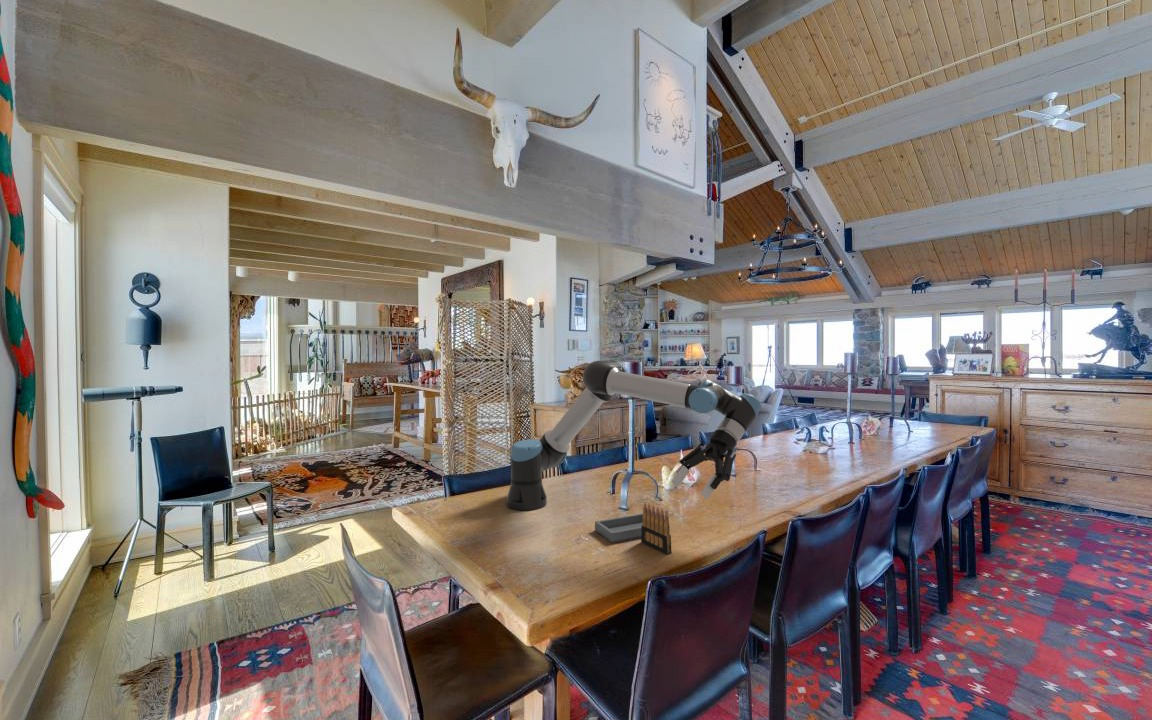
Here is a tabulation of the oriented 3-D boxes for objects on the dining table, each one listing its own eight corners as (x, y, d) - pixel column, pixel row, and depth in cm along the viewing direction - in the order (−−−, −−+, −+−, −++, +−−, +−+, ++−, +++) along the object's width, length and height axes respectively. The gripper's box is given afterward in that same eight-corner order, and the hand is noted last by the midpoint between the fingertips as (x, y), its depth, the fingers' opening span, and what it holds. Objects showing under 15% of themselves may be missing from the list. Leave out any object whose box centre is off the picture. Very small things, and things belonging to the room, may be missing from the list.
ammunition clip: (640, 542, 136) (640, 502, 136) (645, 541, 137) (645, 500, 137) (666, 555, 127) (666, 511, 127) (671, 553, 128) (671, 510, 128)
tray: (594, 530, 145) (594, 521, 145) (648, 521, 154) (647, 512, 154) (611, 543, 135) (611, 533, 135) (667, 532, 144) (667, 522, 144)
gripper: (764, 451, 133) (725, 510, 127) (706, 437, 156) (670, 487, 149) (751, 434, 131) (710, 493, 125) (693, 423, 153) (656, 472, 147)
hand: (688, 490), depth 137 cm, fingers open, 13 cm apart
